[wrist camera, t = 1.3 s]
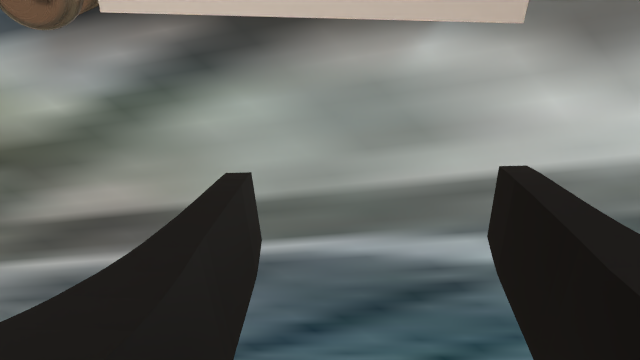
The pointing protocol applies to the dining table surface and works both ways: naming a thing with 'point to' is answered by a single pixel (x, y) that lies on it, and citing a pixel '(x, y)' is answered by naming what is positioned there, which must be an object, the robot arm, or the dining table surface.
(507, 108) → the dining table surface
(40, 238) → the dining table surface
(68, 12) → the hinge post
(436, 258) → the dining table surface
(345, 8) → the beige flat panel
